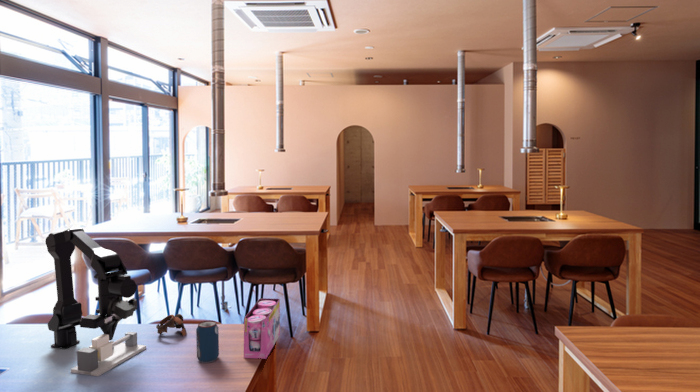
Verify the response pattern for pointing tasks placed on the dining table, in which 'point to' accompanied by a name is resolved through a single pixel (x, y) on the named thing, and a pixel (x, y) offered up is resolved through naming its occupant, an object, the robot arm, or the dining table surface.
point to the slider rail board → (121, 352)
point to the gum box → (261, 328)
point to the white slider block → (102, 346)
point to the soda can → (207, 341)
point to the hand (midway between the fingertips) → (110, 340)
